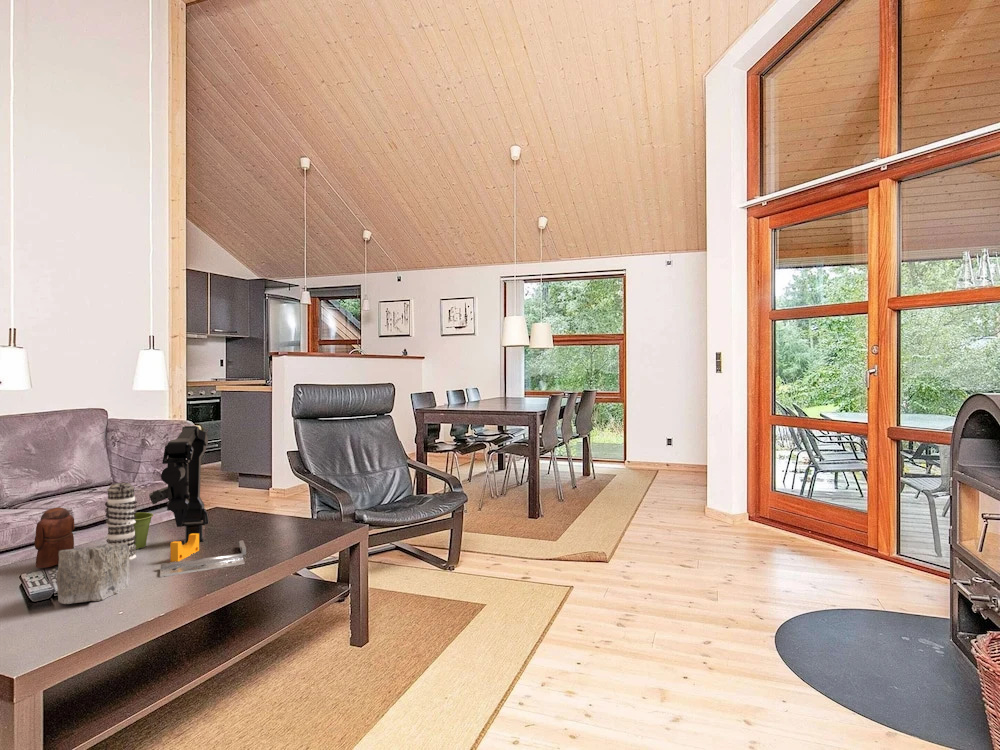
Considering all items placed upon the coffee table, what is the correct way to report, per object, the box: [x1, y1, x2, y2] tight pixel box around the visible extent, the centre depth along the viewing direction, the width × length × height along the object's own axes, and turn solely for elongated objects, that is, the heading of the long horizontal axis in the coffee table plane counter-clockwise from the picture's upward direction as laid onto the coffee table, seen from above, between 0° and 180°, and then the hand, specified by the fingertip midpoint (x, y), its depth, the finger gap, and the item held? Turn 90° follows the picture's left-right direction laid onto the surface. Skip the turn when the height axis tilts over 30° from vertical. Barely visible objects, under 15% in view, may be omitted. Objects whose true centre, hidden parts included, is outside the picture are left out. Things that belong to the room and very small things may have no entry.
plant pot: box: [134, 512, 154, 551], centre depth 219 cm, size 12×12×11 cm
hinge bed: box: [159, 539, 247, 578], centre depth 202 cm, size 20×25×3 cm
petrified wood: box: [56, 543, 131, 605], centre depth 174 cm, size 19×17×15 cm
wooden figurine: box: [34, 507, 76, 569], centre depth 201 cm, size 12×6×18 cm, turn 176°
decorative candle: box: [104, 482, 138, 561], centre depth 206 cm, size 9×9×25 cm
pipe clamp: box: [169, 533, 200, 562], centre depth 208 cm, size 12×4×6 cm, turn 175°
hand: (178, 526), depth 203 cm, fingers closed
